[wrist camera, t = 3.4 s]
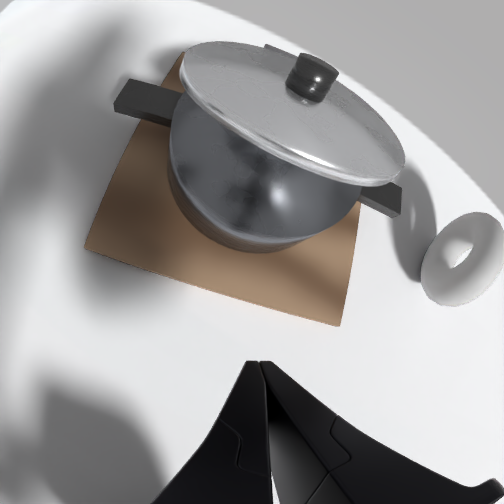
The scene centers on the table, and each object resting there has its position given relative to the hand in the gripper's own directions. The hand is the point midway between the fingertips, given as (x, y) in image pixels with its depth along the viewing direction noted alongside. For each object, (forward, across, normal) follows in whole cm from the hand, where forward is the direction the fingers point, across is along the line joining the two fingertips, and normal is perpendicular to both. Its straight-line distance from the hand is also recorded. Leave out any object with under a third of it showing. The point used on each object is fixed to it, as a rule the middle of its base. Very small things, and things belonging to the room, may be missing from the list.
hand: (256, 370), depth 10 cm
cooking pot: (+18, +1, +4) cm, 18 cm away
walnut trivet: (+18, +1, +4) cm, 18 cm away
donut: (+17, +20, -3) cm, 26 cm away
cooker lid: (+12, +3, +9) cm, 15 cm away
